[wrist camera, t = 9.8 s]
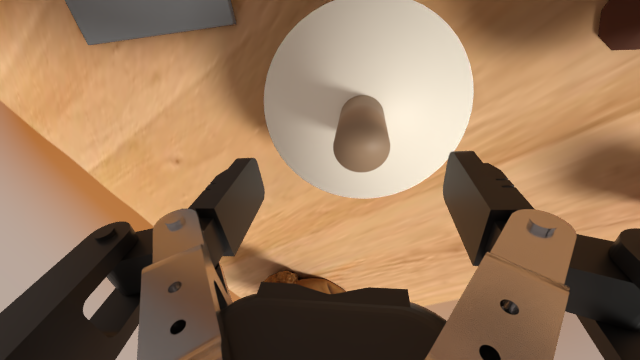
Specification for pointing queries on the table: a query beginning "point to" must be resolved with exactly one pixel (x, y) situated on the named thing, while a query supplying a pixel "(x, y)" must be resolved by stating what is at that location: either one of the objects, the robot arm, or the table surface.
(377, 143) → the lid
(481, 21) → the table surface
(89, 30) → the mat
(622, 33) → the ice cream bowl
